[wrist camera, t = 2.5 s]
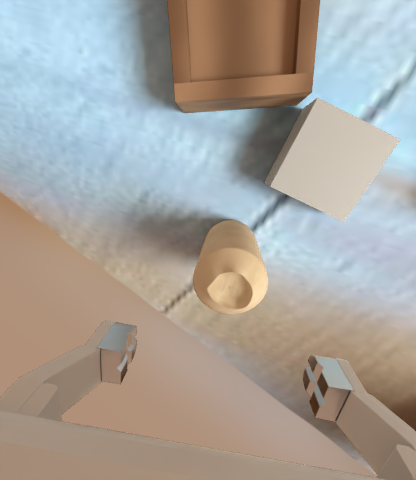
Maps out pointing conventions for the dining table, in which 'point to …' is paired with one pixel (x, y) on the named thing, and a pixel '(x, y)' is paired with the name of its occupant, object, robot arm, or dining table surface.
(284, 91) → the square wooden tray
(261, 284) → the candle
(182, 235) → the dining table surface
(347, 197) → the grey block
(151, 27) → the dining table surface
